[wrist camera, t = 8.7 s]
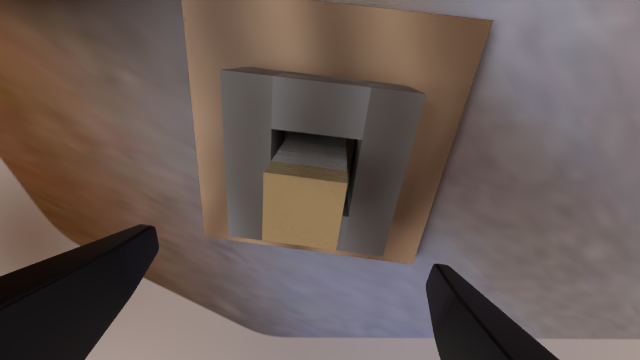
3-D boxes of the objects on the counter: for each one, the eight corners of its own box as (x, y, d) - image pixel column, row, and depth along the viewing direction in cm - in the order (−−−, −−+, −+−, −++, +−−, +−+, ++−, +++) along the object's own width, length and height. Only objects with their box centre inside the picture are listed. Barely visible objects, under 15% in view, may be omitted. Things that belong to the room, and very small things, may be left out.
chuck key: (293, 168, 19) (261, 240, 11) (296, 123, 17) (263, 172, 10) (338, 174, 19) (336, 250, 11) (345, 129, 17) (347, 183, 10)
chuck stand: (212, 226, 23) (177, 272, 18) (193, -9, 16) (126, -38, 11) (408, 252, 23) (426, 306, 18) (479, 23, 16) (544, 8, 11)
